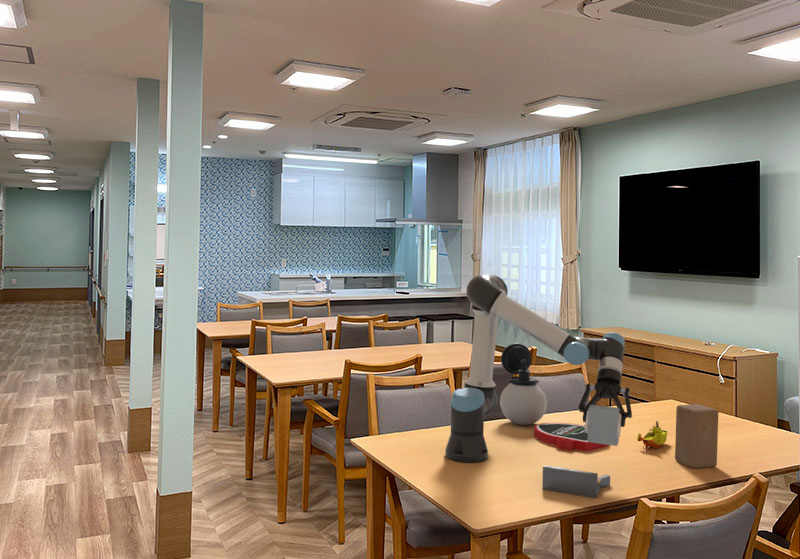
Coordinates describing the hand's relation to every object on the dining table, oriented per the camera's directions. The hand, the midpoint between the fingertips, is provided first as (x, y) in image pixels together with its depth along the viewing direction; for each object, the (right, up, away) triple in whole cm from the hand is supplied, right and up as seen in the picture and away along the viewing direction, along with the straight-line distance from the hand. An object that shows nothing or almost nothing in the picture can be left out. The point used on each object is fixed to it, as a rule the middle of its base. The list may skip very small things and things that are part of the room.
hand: (602, 432), depth 201 cm
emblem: (+4, -16, +52) cm, 54 cm away
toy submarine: (+34, -16, +43) cm, 57 cm away
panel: (+1, -4, +3) cm, 5 cm away
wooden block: (+40, -17, +23) cm, 49 cm away
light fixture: (-11, -14, +76) cm, 78 cm away
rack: (-9, -16, -2) cm, 19 cm away
